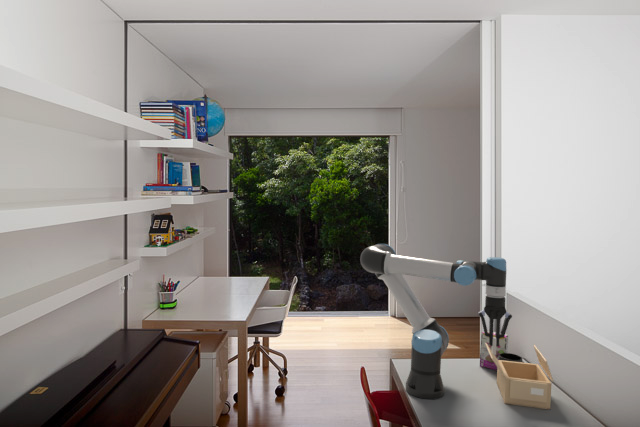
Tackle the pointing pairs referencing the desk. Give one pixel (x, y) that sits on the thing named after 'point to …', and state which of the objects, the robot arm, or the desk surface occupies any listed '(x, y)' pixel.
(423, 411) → the desk surface
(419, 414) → the desk surface
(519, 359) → the mug
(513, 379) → the carton
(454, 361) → the desk surface
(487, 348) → the flap
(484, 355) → the candy bar box
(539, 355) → the flap
